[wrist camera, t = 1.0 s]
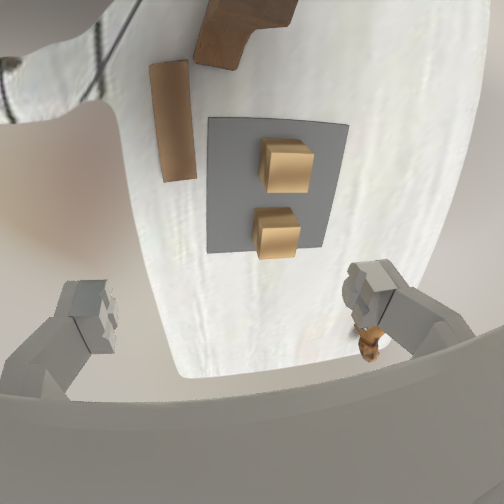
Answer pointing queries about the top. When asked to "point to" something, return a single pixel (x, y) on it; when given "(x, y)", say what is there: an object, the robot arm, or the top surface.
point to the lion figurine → (369, 342)
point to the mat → (250, 185)
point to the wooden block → (237, 28)
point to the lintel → (173, 119)
